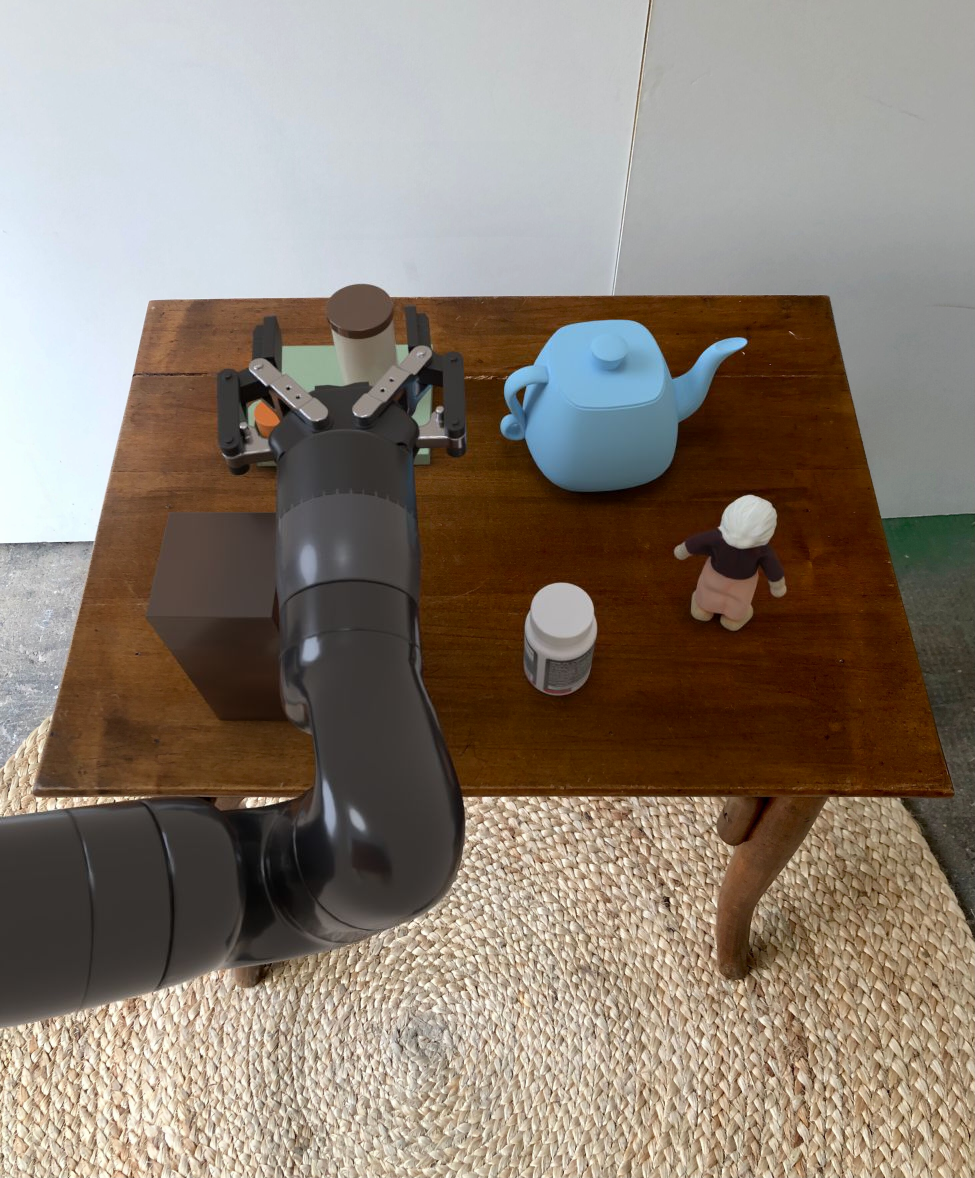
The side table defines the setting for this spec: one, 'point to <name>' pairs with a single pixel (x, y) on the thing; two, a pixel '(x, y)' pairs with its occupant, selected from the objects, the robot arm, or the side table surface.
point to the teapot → (605, 404)
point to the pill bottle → (559, 639)
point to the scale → (335, 383)
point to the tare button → (265, 419)
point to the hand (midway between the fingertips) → (342, 320)
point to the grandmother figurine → (735, 562)
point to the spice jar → (362, 332)
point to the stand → (221, 609)
